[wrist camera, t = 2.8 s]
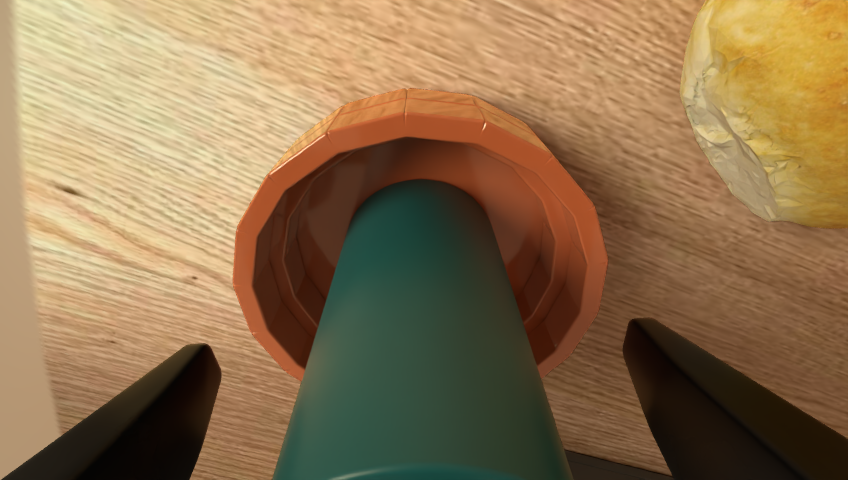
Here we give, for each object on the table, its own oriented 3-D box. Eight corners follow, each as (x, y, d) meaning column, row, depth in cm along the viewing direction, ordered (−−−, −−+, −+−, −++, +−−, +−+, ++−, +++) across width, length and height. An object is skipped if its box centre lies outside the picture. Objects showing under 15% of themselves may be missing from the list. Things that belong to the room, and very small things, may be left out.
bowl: (307, 352, 15) (284, 424, 13) (232, 96, 10) (171, 128, 8) (552, 337, 15) (580, 409, 12) (586, 70, 10) (642, 95, 8)
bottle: (358, 307, 13) (202, 1116, 4) (334, 183, 11) (-212, 1403, 1) (492, 299, 13) (692, 1111, 4) (495, 172, 11) (1037, 1404, 1)
